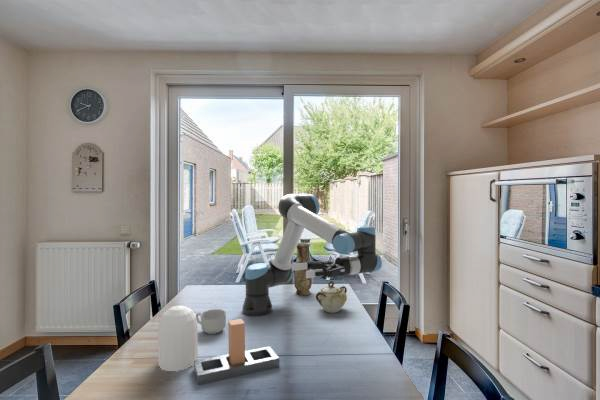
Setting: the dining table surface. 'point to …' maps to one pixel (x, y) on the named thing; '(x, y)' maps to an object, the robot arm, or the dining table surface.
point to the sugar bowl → (332, 298)
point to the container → (177, 339)
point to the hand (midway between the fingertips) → (298, 270)
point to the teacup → (212, 320)
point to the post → (236, 341)
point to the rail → (238, 369)
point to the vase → (300, 275)
